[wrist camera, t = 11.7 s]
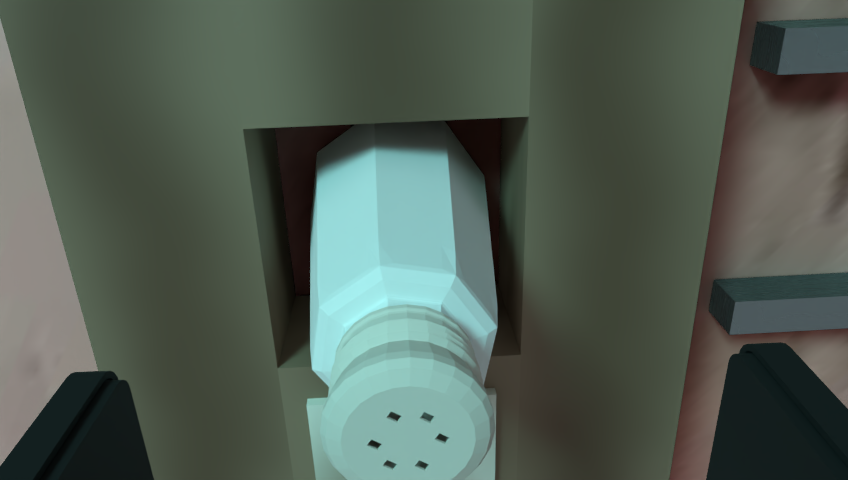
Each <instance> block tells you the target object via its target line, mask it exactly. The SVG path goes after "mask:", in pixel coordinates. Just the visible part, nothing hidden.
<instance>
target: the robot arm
mask: <svg viewBox="0 0 848 480" xmlns="http://www.w3.org/2000/svg"><path fill="white" fill-rule="evenodd" d="M0 480H154V478H153V474H152V470H151V466H150V462H149V458H148V455H147V451H146V447H145V443H144V439H143V435H142V431H141V428H140V424H139V420H138V416H137V412H136V408H135V405H134V401H133V397H132V393H131V389H130V386H129V384H128V382H127V381H126V380H118V377H117V375H116V374H115V373H114V372H112V371H93V372H75V373H71V374H70V375H69V376H68V377H67V378H66V379H65V381H64V382H63V383H62V385H61V386H60V387H59V389H58V390H57V391H56V393H55V394H54V395H53V397H52V398H51V399H50V401H49V402H48V403H47V405H46V406H45V407H44V409H43V410H42V411H41V413H40V414H39V415H38V417H37V418H36V419H35V421H34V422H33V423H32V425H31V426H30V427H29V429H28V430H27V431H26V433H25V434H24V435H23V437H22V438H21V439H20V441H19V442H18V443H17V445H16V446H15V447H14V449H13V450H12V451H11V453H10V454H9V455H8V457H7V458H6V459H5V461H4V462H3V463H2V465H1V466H0ZM706 480H848V409H847V408H846V407H845V406H844V405H843V403H842V402H841V401H840V400H839V399H838V398H837V397H836V396H835V395H834V394H833V393H832V392H831V391H830V389H829V388H828V387H827V386H826V385H825V384H824V383H823V382H822V381H821V380H820V379H819V378H818V377H817V375H816V374H815V373H814V372H813V371H812V370H811V369H810V368H809V367H808V366H807V365H806V364H805V363H804V362H803V360H802V359H801V358H800V357H799V356H798V355H797V354H796V353H795V352H794V351H793V350H792V349H791V348H790V347H789V346H788V345H787V344H785V343H759V344H746V345H744V346H743V347H742V348H741V349H740V352H739V354H733V355H732V356H731V357H730V360H729V363H728V368H727V373H726V379H725V384H724V389H723V394H722V400H721V405H720V410H719V415H718V421H717V426H716V431H715V436H714V442H713V447H712V452H711V457H710V463H709V468H708V473H707V478H706Z"/></svg>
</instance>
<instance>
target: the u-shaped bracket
mask: <svg viewBox="0 0 848 480" xmlns="http://www.w3.org/2000/svg"><path fill="white" fill-rule="evenodd" d="M750 65H751V66H754V67H757V68H759V69H762V70H765V71H768V72H771V73H773V74H776V75H787V74H810V73H834V72H848V18H839V19H813V20H787V21H762V22H757V25H756V31H755V37H754V43H753V49H752V55H751V61H750ZM709 312H710V313H711V314H712V315H713V316H714V318H715V319H716V320H717V321H718V322H719V323H720V325H721V326H722V327H723V328H724V329H725V330H726V331H727V333H728V334H729V335H735V334H753V333H771V332H789V331H807V330H825V329H843V328H848V273H830V274H811V275H792V276H773V277H754V278H735V279H716V280H714V283H713V289H712V295H711V301H710V307H709Z"/></svg>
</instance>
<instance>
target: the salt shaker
mask: <svg viewBox="0 0 848 480" xmlns="http://www.w3.org/2000/svg"><path fill="white" fill-rule="evenodd" d="M497 327H498V324H497V297H496V287H495V277H494V267H493V257H492V247H491V237H490V227H489V218H488V208H487V198H486V188H485V178H484V175H483V173H482V172H481V171H480V169H479V168H478V167H477V165H476V164H475V162H474V161H473V160H472V158H471V157H470V155H469V154H468V153H467V151H466V150H465V149H464V147H463V146H462V144H461V143H460V142H459V140H458V139H457V137H456V136H455V135H454V133H453V132H452V130H451V129H450V128H449V126H448V125H447V124H446V122H445V121H418V122H394V123H371V124H355V125H354V126H352V127H351V128H350V129H348V130H347V131H346V132H344V133H343V134H342V135H340V136H339V137H337V138H336V139H335V140H333V141H332V142H331V143H329V144H328V145H327V146H325V147H324V148H323V149H321V150H320V151H319V152H317V159H316V169H315V179H314V188H313V198H312V208H311V217H310V353H311V364H312V370H313V371H314V372H315V373H316V374H317V375H318V376H319V377H320V378H321V379H322V380H323V381H324V382H325V383H326V384H327V385H328V387H329V392H328V398H327V400H326V402H325V404H324V406H323V411H322V417H321V425H320V436H321V441H322V446H323V450H324V452H325V454H326V455H327V457H328V459H329V461H330V462H331V464H332V466H333V467H334V468H335V469H336V470H337V471H338V472H339V473H340V474H342V475H343V476H344V477H345V478H346V479H347V480H464V479H465V478H466V477H467V476H469V475H470V474H471V473H472V472H473V471H474V470H475V469H476V468H477V467H478V466H479V465H480V464H481V463H482V461H483V459H484V458H485V456H486V455H487V453H488V451H489V450H490V448H491V445H492V441H493V437H494V433H495V419H494V410H493V407H492V404H491V402H490V399H489V397H488V395H487V392H486V390H485V387H484V386H483V385H484V382H485V378H486V374H487V369H488V365H489V361H490V357H491V353H492V349H493V345H494V340H495V336H496V332H497Z"/></svg>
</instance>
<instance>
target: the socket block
mask: <svg viewBox="0 0 848 480" xmlns="http://www.w3.org/2000/svg"><path fill="white" fill-rule="evenodd" d="M744 1H745V0H0V18H1V22H2V26H3V29H4V33H5V36H6V40H7V44H8V47H9V51H10V54H11V58H12V62H13V65H14V69H15V72H16V76H17V80H18V83H19V87H20V90H21V94H22V98H23V101H24V105H25V108H26V112H27V115H28V119H29V123H30V126H31V130H32V133H33V137H34V141H35V144H36V148H37V151H38V155H39V159H40V162H41V166H42V169H43V173H44V177H45V180H46V184H47V187H48V191H49V195H50V198H51V202H52V205H53V209H54V213H55V216H56V220H57V223H58V227H59V231H60V234H61V238H62V241H63V245H64V249H65V252H66V256H67V259H68V263H69V267H70V270H71V274H72V277H73V281H74V285H75V288H76V292H77V295H78V299H79V303H80V306H81V310H82V313H83V317H84V321H85V324H86V328H87V331H88V335H89V339H90V342H91V346H92V349H93V353H94V356H95V360H96V364H97V367H98V371H112V372H114V373H115V374H116V375H117V377H118V380H126V381H127V382H128V384H129V386H130V389H131V393H132V397H133V401H134V405H135V408H136V412H137V416H138V420H139V424H140V428H141V431H142V435H143V439H144V443H145V447H146V451H147V455H148V458H149V462H150V466H151V470H152V474H153V478H154V480H347V479H346V478H345V477H344V476H343V475H342V474H340V473H339V472H338V471H337V470H336V469H335V468H334V467H333V466H332V464H331V462H330V461H329V459H328V457H327V455H326V454H325V452H324V450H323V446H322V441H321V436H320V425H321V417H322V411H323V406H324V404H325V402H326V400H327V398H328V392H329V387H328V385H327V384H326V383H325V382H324V381H323V380H322V379H321V378H320V377H319V376H318V375H317V374H316V373H315V372H314V371H313V370H312V364H311V353H310V295H307V296H295V288H294V280H293V272H292V264H291V256H290V248H289V240H288V232H287V224H286V216H285V208H284V200H283V192H282V184H281V176H280V168H279V160H278V152H277V144H276V136H275V128H279V127H302V126H325V125H348V124H371V123H394V122H418V121H441V120H464V119H487V118H501V163H500V221H499V280H498V286H495V287H496V297H497V324H498V327H497V332H496V336H495V340H494V345H493V349H492V353H491V357H490V361H489V365H488V369H487V374H486V378H485V382H484V385H483V386H484V387H485V390H486V392H487V395H488V397H489V399H490V402H491V404H492V407H493V410H494V419H495V433H494V437H493V441H492V445H491V448H490V450H489V451H488V453H487V455H486V456H485V458H484V459H483V461H482V463H481V464H480V465H479V466H478V467H477V468H476V469H475V470H474V471H473V472H472V473H471V474H470V475H469V476H467V477H466V478H465V479H464V480H669V478H670V471H671V465H672V458H673V452H674V446H675V439H676V433H677V427H678V420H679V414H680V408H681V401H682V395H683V389H684V382H685V376H686V370H687V363H688V357H689V350H690V344H691V338H692V331H693V325H694V319H695V312H696V306H697V300H698V293H699V287H700V281H701V274H702V268H703V261H704V255H705V249H706V242H707V236H708V230H709V223H710V217H711V211H712V204H713V198H714V192H715V185H716V179H717V172H718V166H719V160H720V153H721V147H722V141H723V134H724V128H725V122H726V115H727V109H728V103H729V96H730V90H731V83H732V77H733V71H734V64H735V58H736V52H737V45H738V39H739V33H740V26H741V20H742V14H743V7H744Z"/></svg>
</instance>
